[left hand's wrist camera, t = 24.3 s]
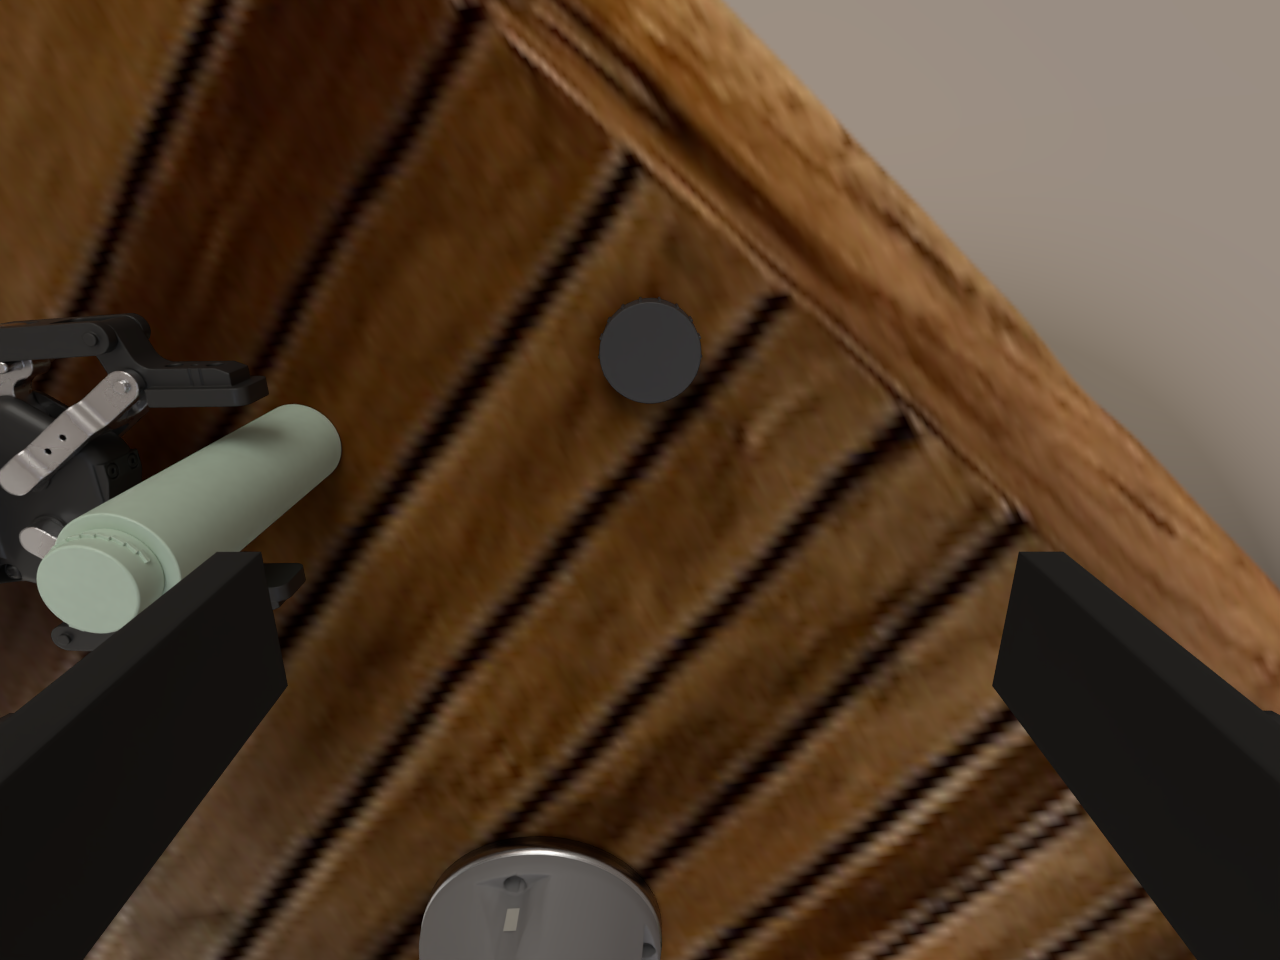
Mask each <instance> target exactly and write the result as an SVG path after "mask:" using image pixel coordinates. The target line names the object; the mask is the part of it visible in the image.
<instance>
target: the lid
mask: <svg viewBox="0 0 1280 960" xmlns="http://www.w3.org/2000/svg"><path fill="white" fill-rule="evenodd" d="M692 321H693V320H692V318H691V316H689V317H688V315H687V314H686V313H685V312H684V311H683V310H682V309H680V308H679V306H678V304H675V305H674V304H673V303H671V302H668V301H666V300H662V299H661V298H660V297H658V299H657V298H644V299H642V298H641V297H639V300H635V301H632V302H630V303H628V304H626V305H624V304H623V305H622V306H621V308H620V309H619V310H618V311H617V312H616V313H615V314H614V315H613V316H612V317H609V318H608V321H607V322H608V323H607V325H606V327H605V330H604V332H603V334H601V336H600V339H599V340H601V342H600V350H599V356H598V357H599V359H600V364H601V367H602V370H603V373H604V376H605V377H606V379H607V380H608V382H609V383H610V384H611V386H612V387H613V388H614V389H615V390H616V391H617V392H619V393H620V394H621V395H623V396H624V397H626V398H628V399H630V400H633V401H636V402H640V403H660V402H664V401H667V400H670V399H672V398H674V397H676V396H678V395H679V394H680V393H682V392H683V391H684V390H685V389H686V388H687V387H688V386H689V385H690V384H691V382H692V381H693V379H694V378H695V376H696V375H697V372H698V369H699V365H700V361H701V358H702V354H701V344H700V340H699V339H701V337H700V334H699V333H697V331H696V329H695V326H694V324H693V323H692Z"/></svg>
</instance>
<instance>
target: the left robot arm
mask: <svg viewBox="0 0 1280 960" xmlns="http://www.w3.org/2000/svg"><path fill="white" fill-rule="evenodd" d="M287 686H288V685H287V680H286V675H285V670H284V665H283V660H282V655H281V650H280V645H279V640H278V635H277V630H276V624H275V619H274V614H273V609H272V604H271V599H270V594H269V589H268V584H267V579H266V574H265V569H264V564H263V559H262V554H261V552H216V553H215V554H213V555H212V556H211V557H210V558H208V559H207V560H206V561H205V562H203V563H202V564H201V565H200V566H198V567H197V568H196V569H195V570H193V571H192V572H191V573H190V574H188V575H187V576H186V577H185V578H183V579H182V580H181V581H180V582H178V583H177V584H176V585H175V586H173V587H172V588H171V589H170V590H168V591H167V592H166V593H164V594H163V595H162V596H161V597H159V598H158V599H157V600H156V601H154V602H153V603H152V604H151V605H149V606H148V607H147V608H146V609H144V610H143V611H142V612H141V613H139V614H138V615H137V616H136V617H134V618H133V619H132V620H131V621H129V622H128V623H127V624H126V625H124V626H123V627H122V628H121V629H119V630H118V631H117V632H116V633H114V634H113V635H112V636H111V637H109V638H108V639H107V640H106V641H104V642H103V643H102V644H101V645H99V646H98V647H97V648H95V649H94V650H93V651H92V652H90V653H89V654H88V655H87V656H85V657H84V658H83V659H82V660H80V661H79V662H78V663H77V664H75V665H74V666H73V667H72V668H70V669H69V670H68V671H67V672H65V673H64V674H63V675H62V676H60V677H59V678H58V679H57V680H55V681H54V682H53V683H52V684H50V685H49V686H48V687H47V688H45V689H44V690H43V691H42V692H40V693H39V694H38V695H37V696H35V697H34V698H33V699H32V700H30V701H29V702H28V703H26V704H25V705H24V706H23V707H21V708H20V709H19V710H18V711H16V712H15V713H9V714H7V715H5V716H3V717H2V718H0V960H83V959H84V958H85V956H86V955H87V954H88V952H89V951H90V949H91V948H92V947H93V945H94V944H95V943H96V941H97V940H98V939H99V937H100V936H101V935H102V933H103V932H104V931H105V929H106V928H107V927H108V925H109V924H110V923H111V921H112V920H113V919H114V917H115V916H116V915H117V913H118V912H119V911H120V909H121V908H122V907H123V905H124V904H125V903H126V901H127V900H128V899H129V897H130V896H131V895H132V893H133V892H134V891H135V889H136V888H137V887H138V885H139V884H140V883H141V881H142V880H143V879H144V877H145V876H146V875H147V873H148V872H149V871H150V869H151V868H152V867H153V865H154V864H155V863H156V861H157V860H158V859H159V857H160V856H161V855H162V853H163V852H164V851H165V849H166V848H167V847H168V845H169V844H170V842H171V841H172V840H173V838H174V837H175V836H176V834H177V833H178V832H179V830H180V829H181V828H182V826H183V825H184V824H185V822H186V821H187V820H188V818H189V817H190V816H191V814H192V813H193V812H194V810H195V809H196V808H197V806H198V805H199V804H200V802H201V801H202V800H203V798H204V797H205V796H206V794H207V793H208V792H209V790H210V789H211V788H212V786H213V785H214V784H215V782H216V781H217V780H218V778H219V777H220V776H221V774H222V773H223V772H224V770H225V769H226V768H227V766H228V765H229V764H230V762H231V761H232V760H233V758H234V757H235V756H236V754H237V753H238V752H239V750H240V749H241V748H242V746H243V745H244V744H245V742H246V741H247V739H248V738H249V737H250V735H251V734H252V733H253V731H254V730H255V729H256V727H257V726H258V725H259V723H260V722H261V721H262V719H263V718H264V717H265V715H266V714H267V713H268V711H269V710H270V709H271V707H272V706H273V705H274V703H275V702H276V701H277V699H278V698H279V697H280V695H281V694H282V693H283V691H284V690H285V689H286V687H287ZM992 686H993V687H994V689H995V690H996V691H997V693H998V694H999V695H1000V697H1001V698H1002V699H1003V701H1004V702H1005V703H1006V705H1007V706H1008V707H1009V709H1010V710H1011V711H1012V713H1013V714H1014V715H1015V717H1016V718H1017V719H1018V721H1019V722H1020V723H1021V725H1022V726H1023V727H1024V729H1025V730H1026V731H1027V733H1028V734H1029V735H1030V737H1031V738H1032V740H1033V741H1034V742H1035V744H1036V745H1037V746H1038V748H1039V749H1040V750H1041V752H1042V753H1043V754H1044V756H1045V757H1046V758H1047V760H1048V761H1049V762H1050V764H1051V765H1052V766H1053V768H1054V769H1055V770H1056V772H1057V773H1058V774H1059V776H1060V777H1061V778H1062V780H1063V781H1064V782H1065V784H1066V785H1067V786H1068V788H1069V789H1070V790H1071V792H1072V793H1073V794H1074V796H1075V797H1076V798H1077V800H1078V801H1079V802H1080V804H1081V805H1082V806H1083V808H1084V809H1085V810H1086V812H1087V813H1088V814H1089V816H1090V817H1091V818H1092V820H1093V821H1094V822H1095V824H1096V825H1097V826H1098V828H1099V829H1100V830H1101V832H1102V833H1103V834H1104V836H1105V837H1106V838H1107V840H1108V841H1109V842H1110V844H1111V845H1112V847H1113V848H1114V849H1115V851H1116V852H1117V853H1118V855H1119V856H1120V857H1121V859H1122V860H1123V861H1124V863H1125V864H1126V865H1127V867H1128V868H1129V869H1130V871H1131V872H1132V873H1133V875H1134V876H1135V877H1136V879H1137V880H1138V881H1139V883H1140V884H1141V885H1142V887H1143V888H1144V889H1145V891H1146V892H1147V893H1148V895H1149V896H1150V897H1151V899H1152V900H1153V901H1154V903H1155V904H1156V905H1157V907H1158V908H1159V909H1160V911H1161V912H1162V913H1163V915H1164V916H1165V917H1166V919H1167V920H1168V921H1169V923H1170V924H1171V925H1172V927H1173V928H1174V929H1175V931H1176V932H1177V933H1178V935H1179V936H1180V937H1181V939H1182V940H1183V941H1184V943H1185V944H1186V945H1187V947H1188V948H1189V949H1190V951H1191V952H1192V954H1193V955H1194V956H1195V958H1196V959H1197V960H1280V715H1279V714H1277V713H1275V712H1273V711H1262V710H1261V709H1260V708H1259V707H1257V706H1256V705H1255V704H1254V703H1252V702H1251V701H1250V700H1248V699H1247V698H1246V697H1245V696H1243V695H1242V694H1241V693H1240V692H1238V691H1237V690H1236V689H1235V688H1233V687H1232V686H1231V685H1230V684H1228V683H1227V682H1226V681H1225V680H1223V679H1222V678H1221V677H1220V676H1218V675H1217V674H1216V673H1215V672H1213V671H1212V670H1211V669H1210V668H1208V667H1207V666H1206V665H1205V664H1203V663H1202V662H1201V661H1200V660H1198V659H1197V658H1196V657H1195V656H1193V655H1192V654H1191V653H1190V652H1188V651H1187V650H1186V649H1185V648H1183V647H1182V646H1181V645H1179V644H1178V643H1177V642H1176V641H1174V640H1173V639H1172V638H1171V637H1169V636H1168V635H1167V634H1166V633H1164V632H1163V631H1162V630H1161V629H1159V628H1158V627H1157V626H1156V625H1154V624H1153V623H1152V622H1151V621H1149V620H1148V619H1147V618H1146V617H1144V616H1143V615H1142V614H1141V613H1139V612H1138V611H1137V610H1136V609H1134V608H1133V607H1132V606H1131V605H1129V604H1128V603H1127V602H1126V601H1124V600H1123V599H1122V598H1121V597H1119V596H1118V595H1117V594H1116V593H1114V592H1113V591H1112V590H1110V589H1109V588H1108V587H1107V586H1105V585H1104V584H1103V583H1102V582H1100V581H1099V580H1098V579H1097V578H1095V577H1094V576H1093V575H1092V574H1090V573H1089V572H1088V571H1087V570H1085V569H1084V568H1083V567H1082V566H1080V565H1079V564H1078V563H1077V562H1075V561H1074V560H1073V559H1072V558H1070V557H1069V556H1068V555H1067V554H1065V553H1064V552H1019V554H1018V559H1017V564H1016V569H1015V574H1014V579H1013V584H1012V589H1011V594H1010V599H1009V604H1008V609H1007V614H1006V619H1005V624H1004V629H1003V634H1002V640H1001V645H1000V650H999V655H998V660H997V665H996V670H995V675H994V680H993V685H992ZM661 948H662V938H661V916H660V911H659V907H658V904H657V901H656V899H655V897H654V895H653V893H652V891H651V890H650V888H649V887H648V885H647V884H646V883H645V881H644V880H643V879H642V878H641V877H640V876H639V875H638V874H637V873H636V872H635V871H634V870H633V869H632V868H631V867H630V866H628V865H627V864H626V863H624V862H623V861H621V860H620V859H618V858H617V857H615V856H613V855H611V854H610V853H608V852H605V851H603V850H601V849H599V848H596V847H594V846H591V845H588V844H585V843H582V842H578V841H574V840H569V839H564V838H557V837H544V836H530V837H518V838H512V839H506V840H502V841H498V842H494V843H491V844H488V845H485V846H482V847H480V848H478V849H476V850H473V851H472V852H470V853H468V854H466V855H464V856H463V857H462V858H460V859H459V860H457V861H456V862H455V863H453V864H452V865H451V866H450V867H449V868H448V869H447V870H446V871H445V872H444V873H443V874H442V876H441V877H440V878H439V880H438V881H437V882H436V884H435V886H434V888H433V890H432V892H431V895H430V897H429V901H428V904H427V907H426V910H425V913H424V917H423V921H422V927H421V934H420V941H419V960H660V956H661Z"/></svg>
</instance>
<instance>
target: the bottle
mask: <svg viewBox="0 0 1280 960" xmlns="http://www.w3.org/2000/svg"><path fill="white" fill-rule="evenodd" d="M340 457H341V442H340V438H339V435H338V433H337V431H336V429H335V427H334V426H333V424H332V423H331V422H330V421H329V420H328V419H327V418H326V417H325V416H324V415H322V414H321V413H320V412H318V411H316V410H314V409H312V408H310V407H307V406H303V405H296V404H290V405H283V406H280V407H278V408H276V409H274V410H272V411H270V412H268V413H266V414H265V415H263V416H261V417H259V418H257V419H256V420H254V421H252V422H250V423H248V424H246V425H245V426H243V427H241V428H239V429H237V430H236V431H234V432H232V433H230V434H228V435H227V436H225V437H223V438H221V439H219V440H217V441H216V442H214V443H212V444H210V445H208V446H207V447H205V448H203V449H201V450H199V451H197V452H196V453H194V454H192V455H190V456H188V457H187V458H185V459H183V460H181V461H179V462H177V463H176V464H174V465H172V466H170V467H168V468H167V469H165V470H163V471H161V472H159V473H158V474H156V475H154V476H152V477H150V478H148V479H147V480H145V481H143V482H141V483H139V484H138V485H136V486H134V487H132V488H130V489H128V490H127V491H125V492H123V493H121V494H119V495H118V496H116V497H114V498H112V499H110V500H108V501H107V502H105V503H103V504H101V505H99V506H98V507H96V508H94V509H92V510H90V511H89V512H87V513H85V514H83V515H81V516H79V517H78V518H76V519H74V520H72V521H71V522H70V523H68V524H67V525H66V526H65V527H64V528H63V529H62V531H61V532H60V534H59V535H58V537H57V540H56V542H55V545H54V546H53V547H52V548H51V550H50V551H49V552H48V554H47V555H45V556H44V558H43V560H42V561H41V563H40V565H39V567H38V571H37V586H38V590H39V593H40V595H41V597H42V599H43V601H44V602H45V604H46V605H47V607H48V608H49V609H50V610H51V611H52V612H53V613H54V614H55V615H56V616H57V617H58V618H60V619H61V620H62V621H64V622H65V623H67V624H69V627H72V628H75V629H78V630H81V631H86V632H91V633H111V632H116V631H118V630H119V629H121V628H122V627H123V626H124V625H126V624H127V623H128V622H129V621H131V620H132V619H133V618H134V617H136V616H137V615H138V614H139V613H141V612H142V611H143V610H144V609H146V608H147V607H148V606H149V605H151V604H152V603H153V602H154V601H156V600H157V599H158V598H159V597H161V596H162V595H163V594H164V593H166V592H167V591H168V590H170V589H171V588H172V587H173V586H175V585H176V584H177V583H178V582H180V581H181V580H182V579H183V578H185V577H186V576H187V575H188V574H190V573H191V572H192V571H193V570H195V569H196V568H197V567H198V566H200V565H201V564H202V563H203V562H205V561H206V560H207V559H208V558H210V557H211V556H212V555H213V554H215V553H216V552H240V551H241V550H242V549H243V548H244V547H245V546H247V545H248V544H249V543H250V542H251V541H252V540H254V539H255V538H256V537H257V536H258V535H259V534H261V533H262V532H263V531H264V530H265V529H266V528H268V527H269V526H270V525H271V524H272V523H273V522H275V521H276V520H277V519H278V518H279V517H281V516H282V515H283V514H284V513H285V512H286V511H288V510H289V509H290V508H291V507H292V506H293V505H295V504H296V503H297V502H298V501H299V500H300V499H302V498H303V497H304V496H305V495H306V494H307V493H309V492H310V491H311V490H312V489H313V488H314V487H316V486H317V485H318V484H319V483H320V482H321V481H323V480H324V479H325V478H326V477H327V476H329V475H330V474H331V473H332V472H333V471H334V470H335V468H336V467H337V465H338V463H339V460H340Z"/></svg>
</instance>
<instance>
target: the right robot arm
mask: <svg viewBox="0 0 1280 960" xmlns="http://www.w3.org/2000/svg"><path fill="white" fill-rule="evenodd" d="M150 334H151V330H150V327H149V324H148V323H147V321H146V320H145V319H144V318H143V317H141V316H140V315H138V314H134V313H127V314H113V315H99V316H84V317H70V318H56V319H42V320H28V321H13V322H7V323H2V324H0V583H7V582H15V581H29V582H33V583H37V571H38V567H39V565H40V563H41V561H42V560H43V558H44V556H45V555H47V554H48V552H49V551H50V550H51V548H52V547H53V546H54V545H55V542H56V540H57V537H58V535H59V534H60V532H61V531H62V529H63V528H64V527H65V526H66V525H67V524H68V523H70V522H71V521H72V520H74V519H76V518H78V517H79V516H81V515H83V514H85V513H87V512H89V511H90V510H92V509H94V508H96V507H98V506H99V505H101V504H103V503H105V502H107V501H108V500H110V499H112V498H114V497H116V496H118V495H119V494H121V493H123V492H125V491H127V490H128V489H130V488H132V487H134V486H136V485H138V484H139V483H141V482H142V465H141V462H140V458H139V454H138V451H137V449H130V448H129V447H128V445H127V444H126V443H125V441H124V440H123V439H122V438H121V437H122V436H123V435H124V434H125V433H126V432H127V431H128V430H129V429H130V428H131V427H132V426H133V425H135V424H136V423H137V422H138V421H139V420H140V419H141V418H142V417H143V416H144V415H145V414H146V413H148V411H149V410H150V409H149V407H224V406H242V405H247V404H251V403H253V402H255V401H257V400H259V399H261V398H263V397H265V396H267V395H269V392H268V387H267V382H266V377H265V376H250V374H249V369H248V366H247V365H244V364H242V363H239V362H236V361H187V362H174V361H169V360H166V359H164V358H163V357H161V356H160V355H159V354H158V353H157V352H156V351H155V350H154V348H153V347H152V345H151V343H150V342H149V340H148V339H149V337H150ZM82 356H97V358H98V359H99V361H100V362H101V364H102V365H103V367H104V369H105V370H106V372H107V373H108V376H107V377H106V378H105V379H103V380H102V381H101V382H100V383H99V384H98V385H97V386H96V387H95V388H94V389H93V390H92V391H91V392H90V393H89V394H88V395H87V396H86V397H85V398H84V399H82V400H81V401H80V402H78V403H76V404H75V405H73V406H71V407H68V406H67V405H65V404H63V403H61V402H60V401H58V400H56V399H54V398H53V397H51V396H49V395H47V394H45V393H43V392H40V391H36V390H32V380H33V378H34V377H35V376H36V375H39V374H42V373H45V372H47V371H48V370H49V368H50V365H51V361H53V360H54V359H55V358H67V357H82ZM263 564H264V569H265V574H266V579H267V584H268V589H269V594H270V599H271V604H272V609H273V610H274V609H276V608H279V607H280V606H281V605H282V604H283V603H284V602H285V600H286V599H288V598H290V597H291V596H292V595H293V594H294V593H295V592H296V591H297V590H298V589H299V588H300V586H301V585H302V584H303V583H304V582H305V580H306V579H305V574H304V569H303V565H302V564H300V563H263ZM116 632H117V631H116ZM116 632H111V633H91V632H86V631H81V630H78V629H75V628H72V627H69V624H67V623H65V622H63V623H61V624H60V625H59V626H57V627H56V628H54V629H53V631H52V633H51V637H52V640H53V642H54V643H55V644H56V645H57V646H58V647H60V648H62V649H64V650H74V651H93V650H94V649H95V648H97V647H98V646H99V645H101V644H102V643H103V642H104V641H106V640H107V639H108V638H109V637H111V636H112V635H113V634H114V633H116Z"/></svg>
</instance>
